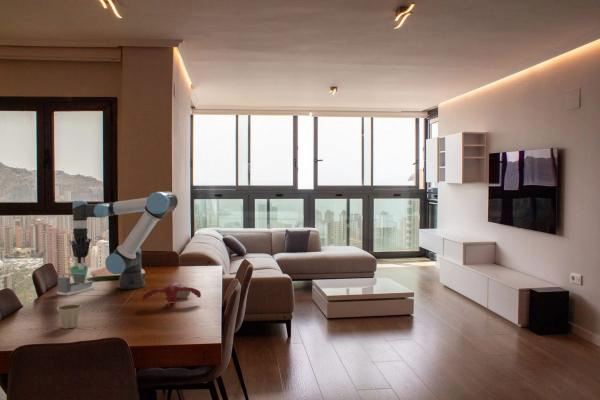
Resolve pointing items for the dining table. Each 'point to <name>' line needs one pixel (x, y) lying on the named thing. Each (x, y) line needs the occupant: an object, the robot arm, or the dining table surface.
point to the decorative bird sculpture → (171, 293)
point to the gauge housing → (67, 290)
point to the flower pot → (69, 315)
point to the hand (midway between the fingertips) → (81, 268)
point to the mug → (79, 270)
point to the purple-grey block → (78, 279)
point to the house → (106, 273)
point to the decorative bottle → (180, 294)
